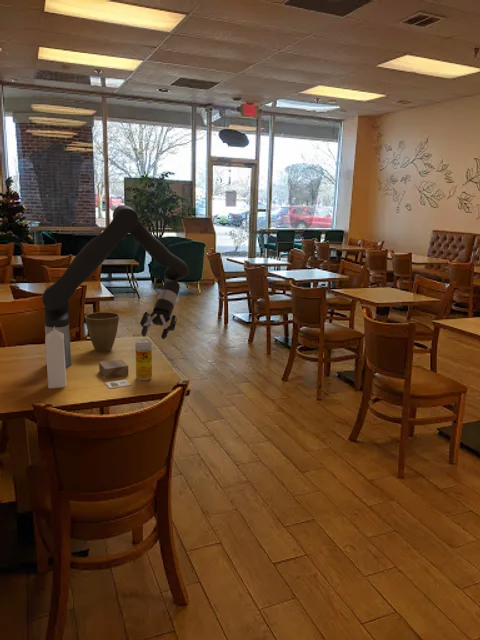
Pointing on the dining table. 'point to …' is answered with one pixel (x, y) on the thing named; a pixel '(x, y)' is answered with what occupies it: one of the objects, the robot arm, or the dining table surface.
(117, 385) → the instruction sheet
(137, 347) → the yellow canister
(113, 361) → the base brick
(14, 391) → the dining table surface
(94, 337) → the plant pot
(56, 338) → the milk
